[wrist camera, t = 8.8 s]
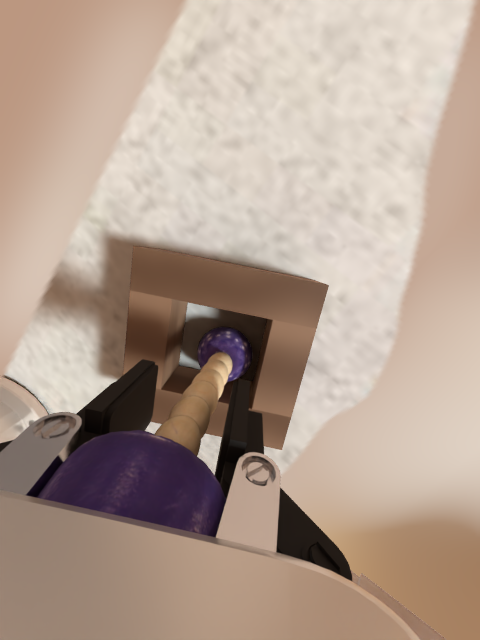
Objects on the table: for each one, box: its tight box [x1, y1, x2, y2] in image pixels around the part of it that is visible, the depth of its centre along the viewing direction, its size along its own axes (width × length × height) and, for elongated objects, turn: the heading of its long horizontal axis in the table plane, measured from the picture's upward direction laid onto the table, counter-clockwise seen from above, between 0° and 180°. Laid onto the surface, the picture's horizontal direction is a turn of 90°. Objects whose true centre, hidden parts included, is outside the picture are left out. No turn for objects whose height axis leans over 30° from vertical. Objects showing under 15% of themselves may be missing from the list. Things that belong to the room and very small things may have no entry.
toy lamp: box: [37, 327, 252, 538], centre depth 11 cm, size 5×5×17 cm
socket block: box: [123, 246, 329, 450], centre depth 18 cm, size 12×12×4 cm
